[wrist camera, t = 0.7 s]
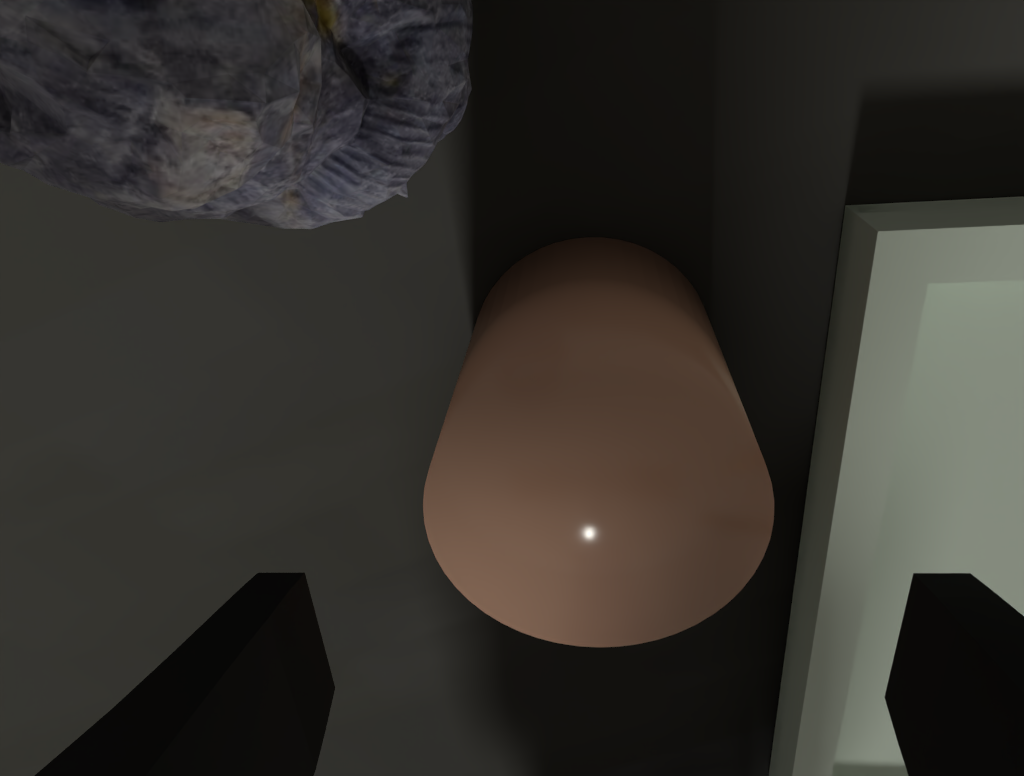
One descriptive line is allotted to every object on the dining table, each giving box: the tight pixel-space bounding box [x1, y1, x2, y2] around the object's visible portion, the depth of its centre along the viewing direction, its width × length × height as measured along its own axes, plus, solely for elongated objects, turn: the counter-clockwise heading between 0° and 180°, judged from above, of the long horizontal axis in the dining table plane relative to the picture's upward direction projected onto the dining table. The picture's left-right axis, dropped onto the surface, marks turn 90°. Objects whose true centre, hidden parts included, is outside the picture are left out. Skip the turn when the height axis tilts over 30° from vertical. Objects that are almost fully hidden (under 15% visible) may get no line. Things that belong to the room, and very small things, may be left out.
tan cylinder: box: [423, 237, 774, 647], centre depth 14 cm, size 5×5×6 cm
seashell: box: [0, 0, 473, 229], centre depth 9 cm, size 5×5×10 cm
